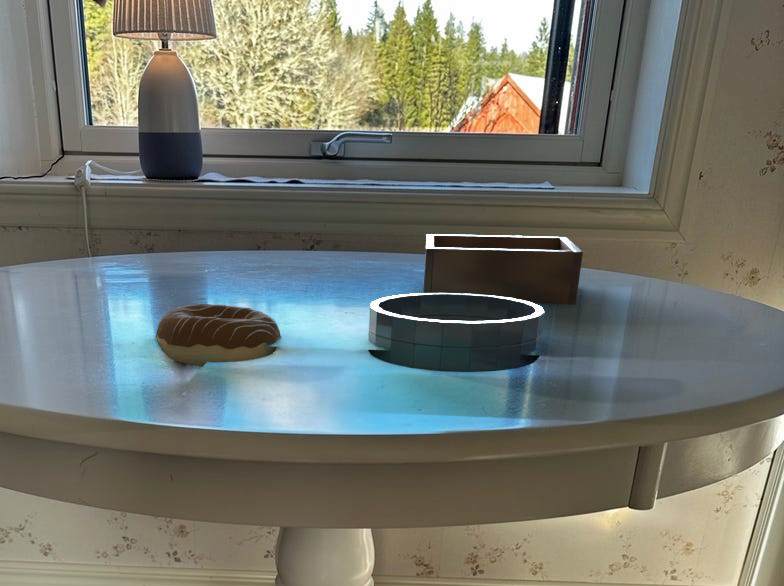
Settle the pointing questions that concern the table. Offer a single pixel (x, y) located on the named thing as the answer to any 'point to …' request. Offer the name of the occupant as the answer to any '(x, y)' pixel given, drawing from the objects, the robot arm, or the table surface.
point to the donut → (216, 334)
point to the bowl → (455, 331)
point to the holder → (504, 267)
